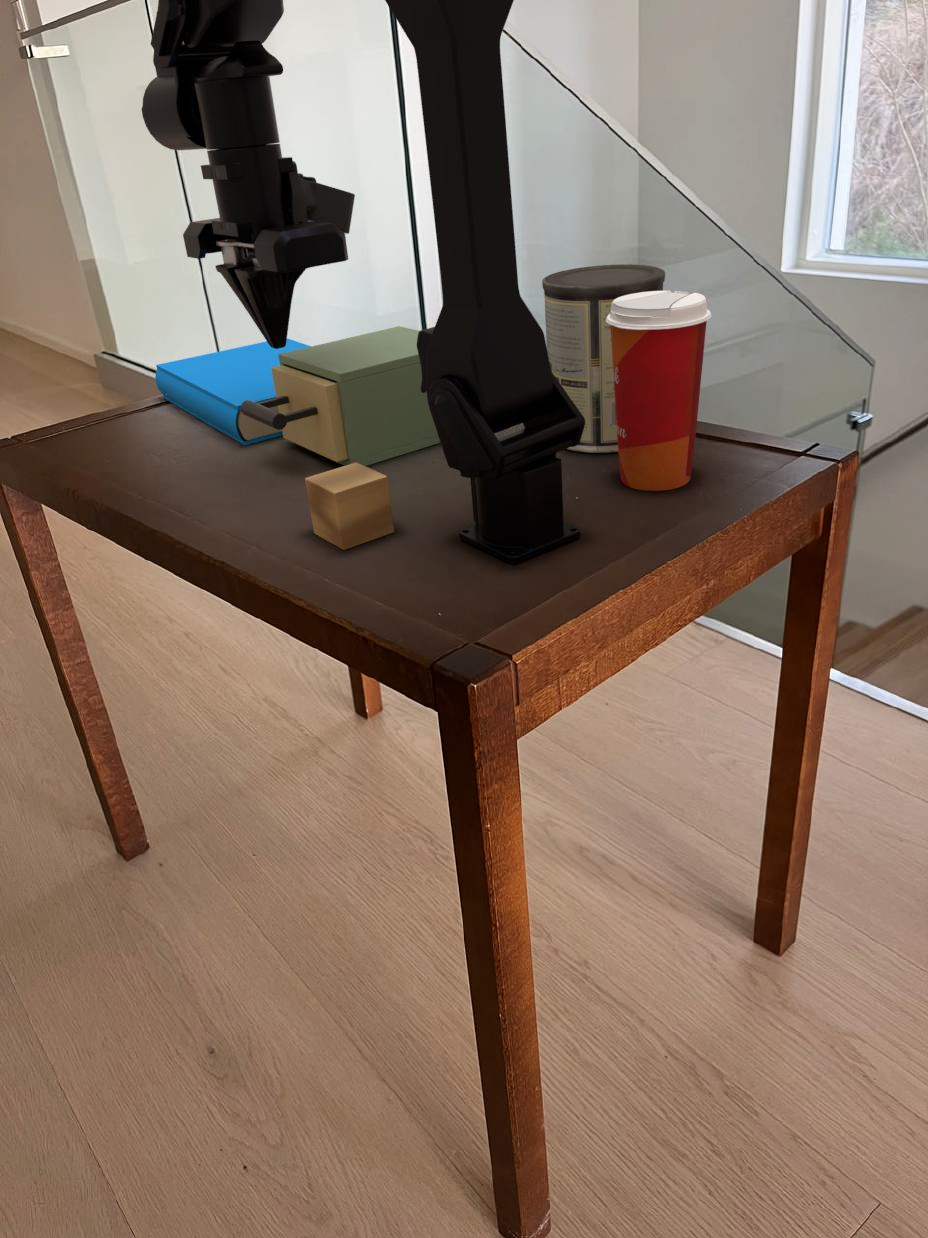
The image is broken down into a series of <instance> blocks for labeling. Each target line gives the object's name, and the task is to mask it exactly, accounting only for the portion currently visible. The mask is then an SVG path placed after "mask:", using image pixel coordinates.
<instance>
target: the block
mask: <svg viewBox="0 0 928 1238" xmlns="http://www.w3.org/2000/svg"><path fill="white" fill-rule="evenodd" d="M304 482H305V488H306V494H307V499H308V505H309V512H310V518H311V523H312V529H313V533H314V535H316V536H318V537H320V538H322V539H323V540H324V541H326V542H328V543H330V544H331V545H333V546H335V547H337V548H338V549H340V550H341V551H345V550H348V549H351V548H354V547H357V546H359V545H362V544H365V543H368V542H371V541H374V540H376V539H379V538H382V537H384V536H388V535H390V534H394V533H395V525H394V518H393V517H394V516H393V510H392V502H391V495H390V494H391V493H390V485H389V478H388V476H387V475H386V474H383V473H381V472H379V471H377V470H375V469H372V468H370V467H368V466H363V465H361V464H359V463H353V464H349V465H346V466H344V465H342V466H340V467H337V468H334V469H331V470H327V471H324V472H320V473H317V474H314V475H311V476H307V477H305V478H304Z"/></svg>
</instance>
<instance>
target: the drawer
mask: <svg viewBox="0 0 928 1238" xmlns="http://www.w3.org/2000/svg"><path fill="white" fill-rule="evenodd" d="M271 370H272V376H273V381H274V387H275V393H276V398H274V399H270V400H266V401H262V402H259V403H255V402H252V401H250V400H246V401H244V402H243V403H242V405H241V412H242V413H243V414H244V415H246V416H248V417H250V418H252V419H255V420H257V421H259V422H261V423H264V424H266V425H268V426H270V427H273V428H275V429H277V430H281V429H282V432H283V435H282V437H283V439H285V440H287V441H289V442H291V443H294V444H296V445H298V446H300V447H302V448H304V447H305V449H307V450H309V451H311V452H313V453H315V452H316V453H315V454H318V455H320V456H322V457H324V458H326V457H327V458H326V459H329V460H331V461H333V462H336V463H337V462H340V461H343V460H346V459H348V453H347V446H346V439H345V432H344V426H343V419H342V412H341V405H340V398H339V391H338V385H337V381H334V380H331V379H328V378H325V377H322V376H319V375H316V374H313V373H310V372H307V371H304V370H301V369H299V370H300V371H299V370H296V369H293V368H290V367H287V366H284V365H280V366H276V367H272V368H271ZM275 406H278V409H279V412H277V411H274V410H272V409H269V408H271V407H275Z"/></svg>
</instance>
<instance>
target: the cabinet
mask: <svg viewBox="0 0 928 1238" xmlns="http://www.w3.org/2000/svg"><path fill="white" fill-rule="evenodd" d="M419 331H420V330H418V329H413V328H408V327H404V326H400V325H398V326H395V327H394V326H393V327H390V328H385V329H381V330H377V331H372V332H369V333H365V334H360V335H355V336H350V337H346V338H342V339H339V340H332V341H329V342H325V343H320V344H316V345H311V346H312V347H307V348H303V349H299V350H294V351H290V352H286V353H281V354H278V357H279V362H280V365H284V366H287V367H290V368H293V369H296V370H299V369H301V370H304V371H307V372H310V373H313V374H316V375H319V376H322V377H325V378H328V379H331V380H334V381H337V385H338V391H339V398H340V405H341V412H342V419H343V426H344V432H345V439H346V446H347V453H348V459H346V460H343V461H340V462H336V463H337V464H340V465H342V466H346V465H349V464H353V463H359V464H361V465H363V466H365V467H368V466H370V465H374V464H377V463H380V462H383V461H387V460H390V459H393V458H397V457H400V456H402V455H405V454H409V453H412V452H415V451H418V450H422V449H425V448H428V447H431V446H434V445H438V444H441V442H440V439H439V436H438V433H437V430H436V427H435V424H434V421H433V418H432V415H431V412H430V409H429V405H428V400H427V392H425V393H422V392H421V382H422V369H421V363H420V358H419V354H418V350H417V338H418V333H419ZM299 371H300V370H299ZM303 448H305V447H303ZM305 449H306V448H305ZM314 453H315V454H317V453H316V452H314ZM325 458H326V459H328V458H327V457H325Z"/></svg>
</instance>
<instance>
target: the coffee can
mask: <svg viewBox="0 0 928 1238" xmlns="http://www.w3.org/2000/svg"><path fill="white" fill-rule="evenodd" d="M665 279H666V271H665V270H664V269H662V268H660V267H657V266H652V265H647V264H603V265H591V266H581V267H577V268H576V267H575V268H571V269H565V270H561V271H560V270H559V271H557V272H554V273H551V274H548V275H547V276H545V277H543V278H542V280H541V283H542V289H543V294H544V295H543V296H544V312H545V313H544V317H545V319H544V320H545V342H546V347H547V352H548V357H549V363H550V368H551V371H552V373H553V374H554V376H555V377H556V378H557V380H558V381H559V383H560V384H561V386H562V387H563V388H564V390H565V391H566V393H567V394H568V395H569V397H570V398H571V400H572V401H573V403H574V404H575V405H576V407H577V408H578V410H579V411H580V412H581V414H582V415H583V417H584V418H585V426H584V430H583V433H582V437H581V440H580V443H579V445H577V446H574V447H569V448H567V449H566V450H568V451H571V452H578V453H586V454H587V453H588V454H613V453H618V439H617V424H616V408H615V392H614V376H613V359H612V343H611V327H610V324H608V323H607V322H606V318H607V316H608V315H609V314H610V312H611V305H612V302H613V300H615V299H616V298H618V297H621V296H625V295H629V294H634V293H640V292H649V291H664V282H665Z"/></svg>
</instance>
